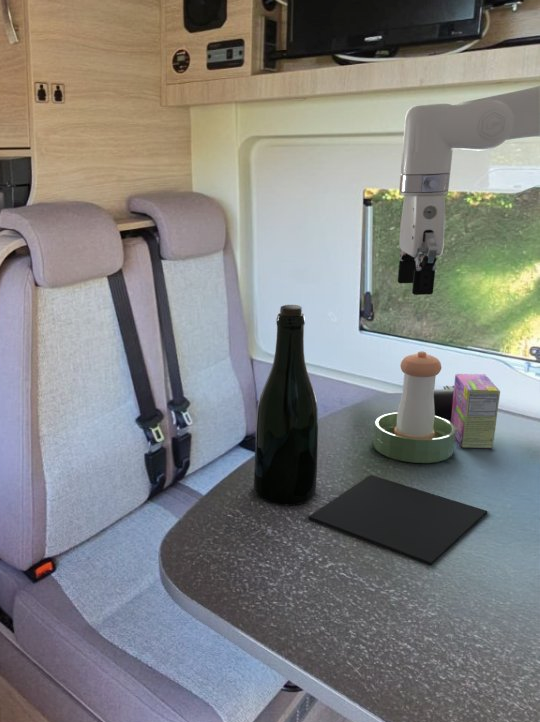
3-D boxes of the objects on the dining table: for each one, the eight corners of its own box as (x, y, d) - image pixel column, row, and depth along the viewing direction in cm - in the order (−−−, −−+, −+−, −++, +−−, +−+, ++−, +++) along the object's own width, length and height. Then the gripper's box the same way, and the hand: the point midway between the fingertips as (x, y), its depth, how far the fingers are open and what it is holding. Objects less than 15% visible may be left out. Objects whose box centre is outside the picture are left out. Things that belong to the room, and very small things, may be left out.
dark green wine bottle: (315, 481, 128) (325, 298, 117) (315, 509, 119) (326, 314, 107) (256, 477, 131) (259, 298, 119) (251, 504, 121) (255, 313, 110)
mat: (487, 513, 115) (487, 510, 115) (431, 565, 102) (431, 562, 102) (370, 477, 129) (371, 474, 128) (308, 518, 116) (308, 516, 116)
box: (448, 427, 148) (455, 373, 144) (478, 428, 146) (486, 373, 142) (460, 448, 138) (467, 390, 134) (492, 449, 137) (501, 390, 133)
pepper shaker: (429, 440, 141) (439, 346, 135) (436, 456, 135) (447, 358, 128) (390, 439, 143) (398, 346, 136) (394, 454, 136) (403, 357, 130)
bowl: (465, 447, 138) (468, 423, 137) (432, 471, 129) (435, 446, 128) (395, 429, 148) (397, 406, 146) (359, 451, 139) (361, 427, 138)
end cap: (417, 425, 150) (420, 394, 147) (409, 412, 156) (412, 383, 154) (468, 425, 148) (472, 394, 146) (458, 412, 155) (461, 383, 153)
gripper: (465, 187, 110) (453, 298, 116) (432, 180, 126) (423, 278, 132) (414, 190, 111) (404, 299, 117) (388, 182, 127) (380, 279, 133)
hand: (414, 288), depth 124 cm, fingers open, 9 cm apart
